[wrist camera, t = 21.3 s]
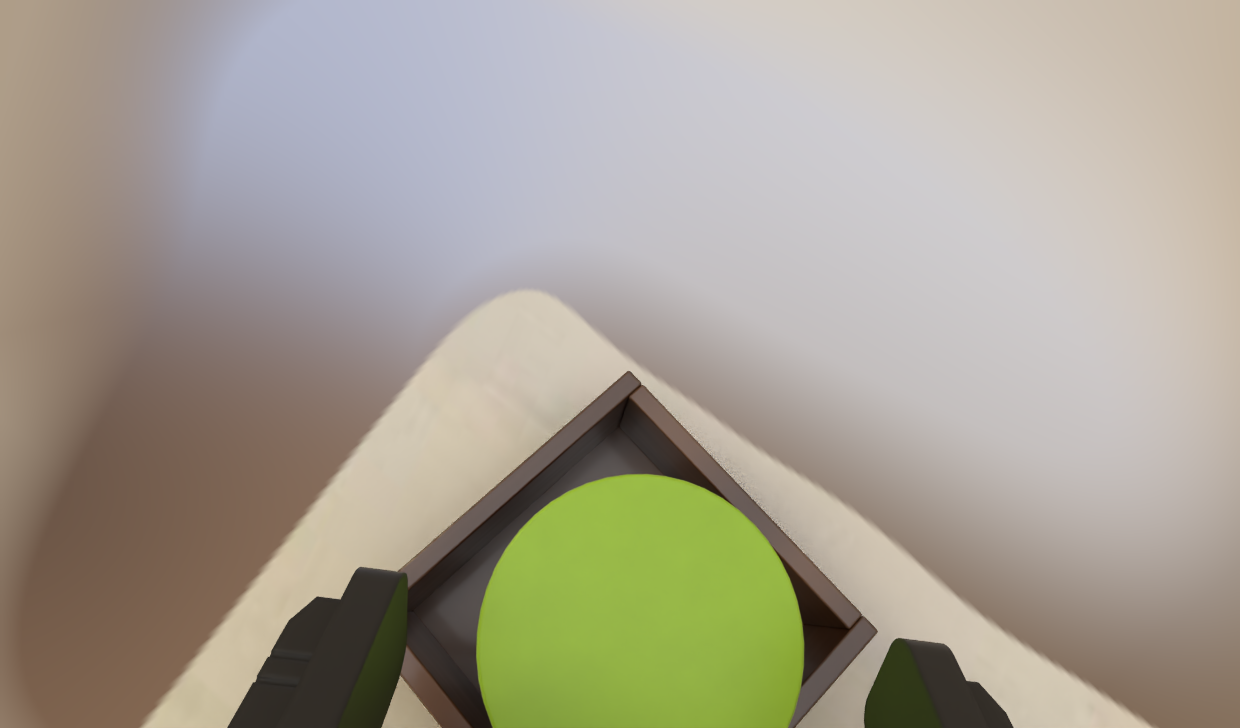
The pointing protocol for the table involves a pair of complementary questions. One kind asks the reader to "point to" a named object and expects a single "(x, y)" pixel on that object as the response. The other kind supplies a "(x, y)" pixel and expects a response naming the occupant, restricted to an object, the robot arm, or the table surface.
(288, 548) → the table surface
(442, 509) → the table surface
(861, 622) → the bin
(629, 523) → the ball tube
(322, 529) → the table surface
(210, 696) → the table surface
